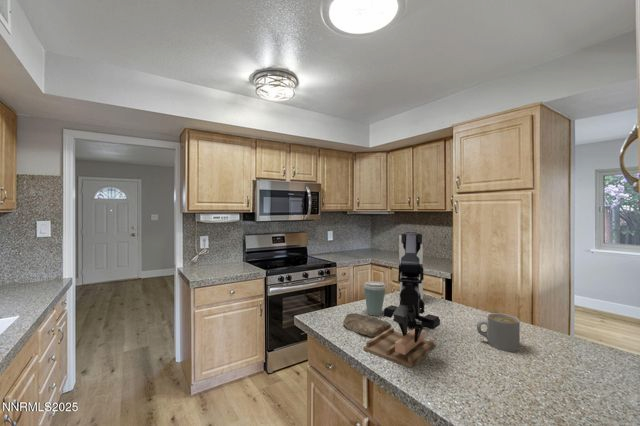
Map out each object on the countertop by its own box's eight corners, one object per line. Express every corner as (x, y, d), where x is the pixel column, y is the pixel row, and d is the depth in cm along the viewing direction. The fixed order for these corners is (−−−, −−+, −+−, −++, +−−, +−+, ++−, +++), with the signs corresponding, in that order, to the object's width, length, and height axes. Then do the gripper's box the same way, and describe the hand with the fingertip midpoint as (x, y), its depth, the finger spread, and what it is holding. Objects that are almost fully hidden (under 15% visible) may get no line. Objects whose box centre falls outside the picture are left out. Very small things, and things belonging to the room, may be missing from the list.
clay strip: (415, 335, 112) (415, 327, 112) (425, 338, 109) (425, 330, 109) (395, 351, 100) (394, 342, 100) (405, 354, 97) (404, 345, 97)
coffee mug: (520, 343, 110) (520, 316, 109) (518, 354, 102) (518, 325, 102) (479, 334, 118) (479, 309, 118) (475, 343, 110) (474, 317, 110)
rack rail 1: (391, 331, 120) (391, 327, 120) (394, 331, 119) (394, 327, 119) (366, 346, 106) (366, 342, 106) (368, 347, 106) (368, 343, 106)
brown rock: (335, 326, 129) (372, 340, 114) (335, 314, 129) (372, 327, 114) (356, 318, 138) (393, 330, 123) (356, 308, 138) (393, 319, 123)
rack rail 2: (431, 343, 109) (431, 338, 109) (433, 344, 108) (433, 339, 108) (408, 362, 95) (407, 357, 95) (410, 363, 95) (410, 358, 95)
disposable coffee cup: (363, 309, 148) (363, 279, 148) (385, 310, 147) (385, 279, 147) (363, 317, 138) (363, 284, 138) (387, 318, 136) (387, 285, 136)
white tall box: (420, 298, 165) (420, 235, 164) (422, 304, 154) (422, 237, 154) (399, 297, 167) (399, 235, 167) (400, 303, 157) (399, 237, 156)
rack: (392, 332, 121) (392, 330, 121) (436, 346, 108) (436, 343, 108) (363, 350, 106) (363, 347, 106) (410, 368, 94) (410, 365, 94)
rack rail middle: (410, 336, 114) (410, 332, 114) (412, 337, 113) (412, 333, 113) (386, 354, 101) (386, 349, 101) (388, 355, 100) (388, 350, 100)
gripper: (374, 296, 105) (375, 340, 105) (426, 308, 92) (426, 358, 92) (391, 289, 113) (391, 330, 113) (440, 299, 100) (440, 345, 100)
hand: (410, 340), depth 104 cm, fingers closed on clay strip, 4 cm apart
